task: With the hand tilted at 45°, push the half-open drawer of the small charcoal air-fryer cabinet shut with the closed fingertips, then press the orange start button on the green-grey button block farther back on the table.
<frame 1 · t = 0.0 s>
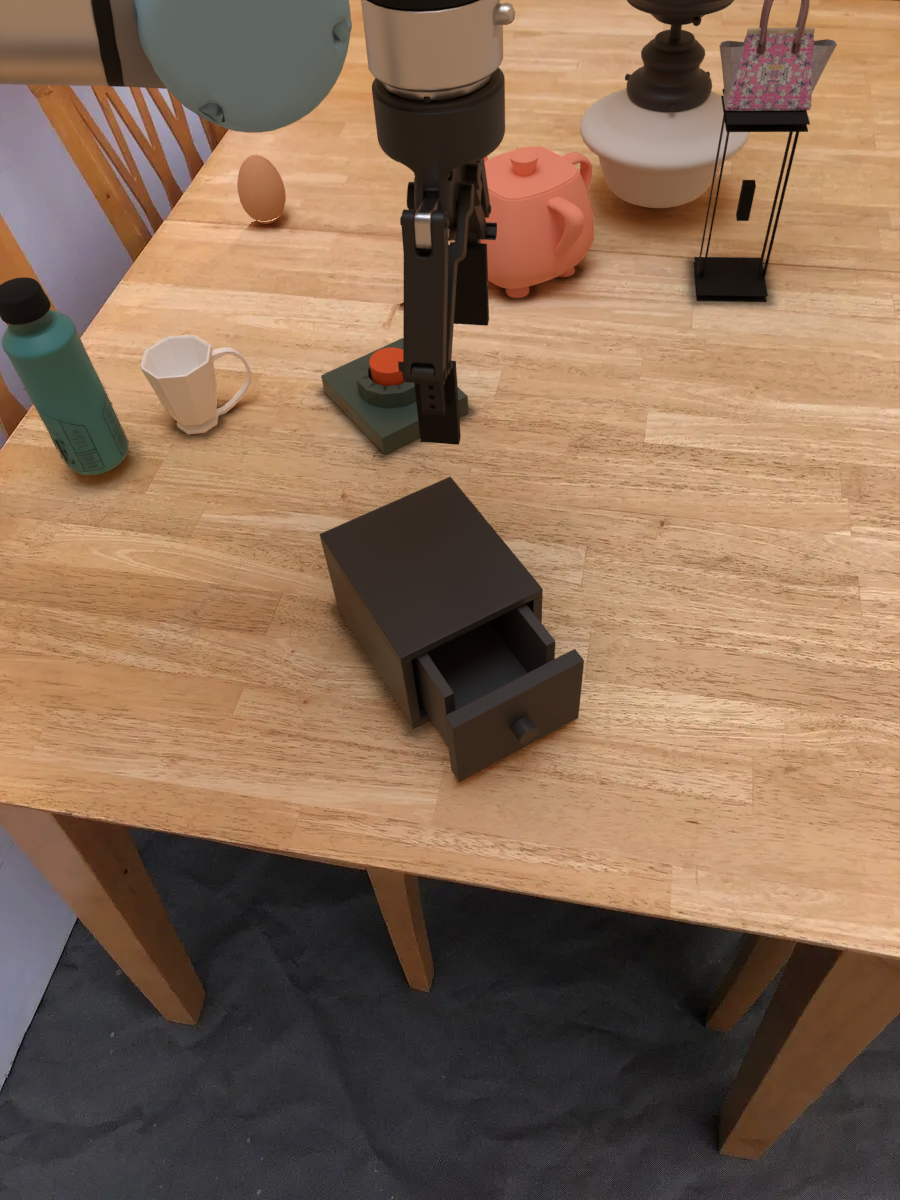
hand: (456, 377, 68), 18 cm above the table, tool pointing down, fingers open, 13 cm apart
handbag: (729, 283, 104), on the table
cabinet: (436, 635, 76), on the table
egg: (268, 222, 118), on the table
cup: (213, 417, 95), on the table
teapot: (513, 267, 109), on the table
beverage bottle: (103, 466, 91), on the table
light fixture: (654, 204, 115), on the table
button block: (395, 402, 95), on the table
start button: (390, 367, 91), point 4 cm above the table, slide at 0.1 cm
drawer: (479, 666, 68), point 5 cm above the table, slide at 5.0 cm
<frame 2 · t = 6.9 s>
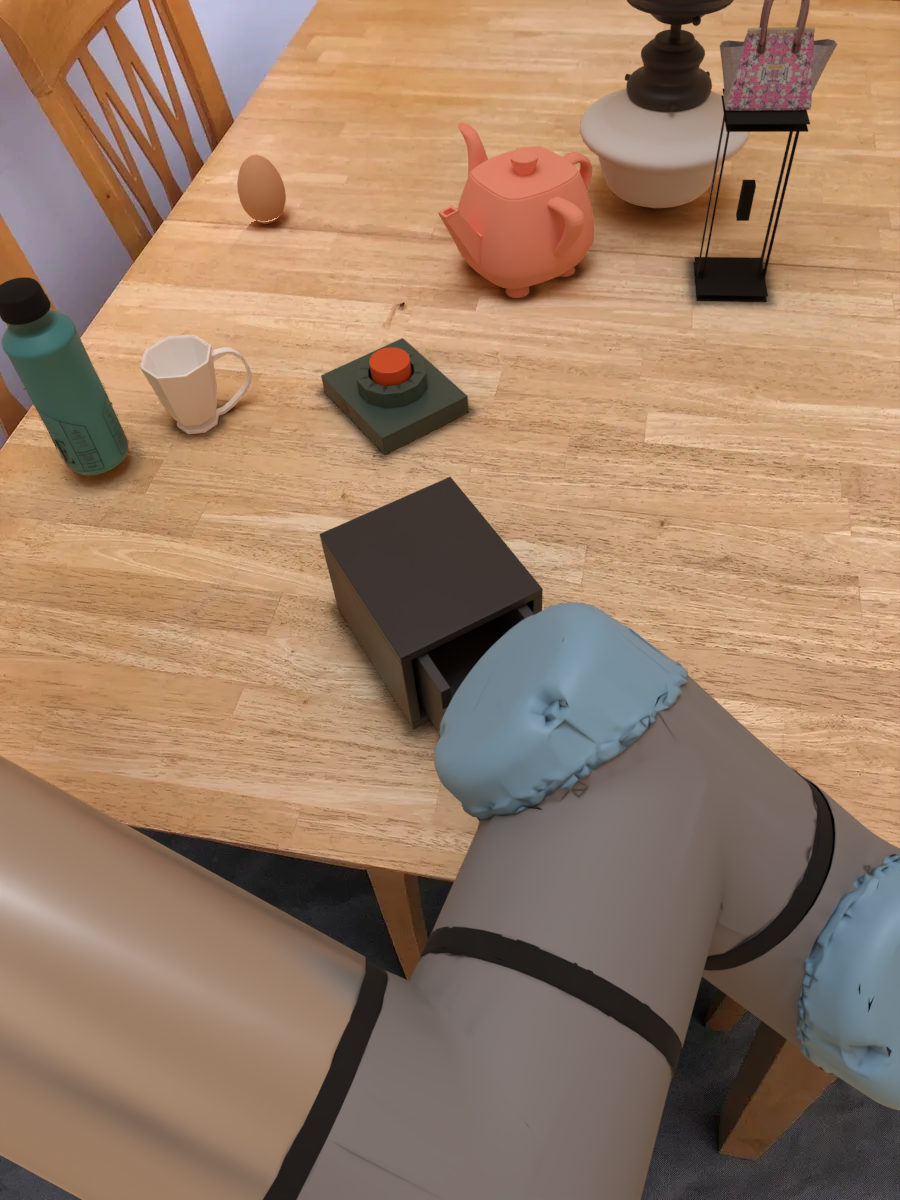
hand: (495, 750, 64), 4 cm above the table, tool tilted 45°, fingers closed
drawer: (476, 661, 68), point 5 cm above the table, slide at 4.5 cm, touching gripper
everything else where it was.
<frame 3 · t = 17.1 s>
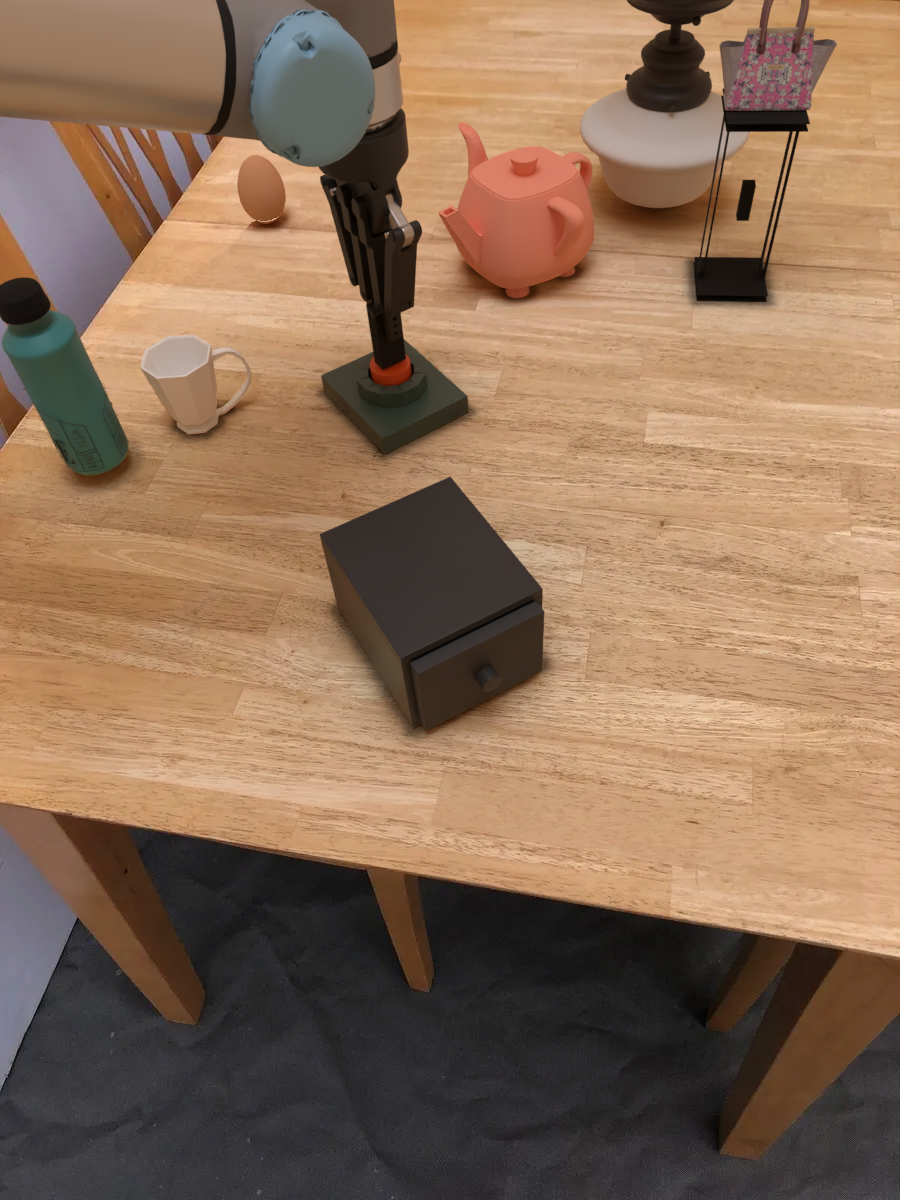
hand: (390, 360, 90), 5 cm above the table, tool pointing down, fingers closed
start button: (390, 369, 91), point 4 cm above the table, slide at -0.3 cm, touching gripper
drawer: (446, 620, 71), point 5 cm above the table, slide at 0.0 cm, touching cabinet
everything else where it was.
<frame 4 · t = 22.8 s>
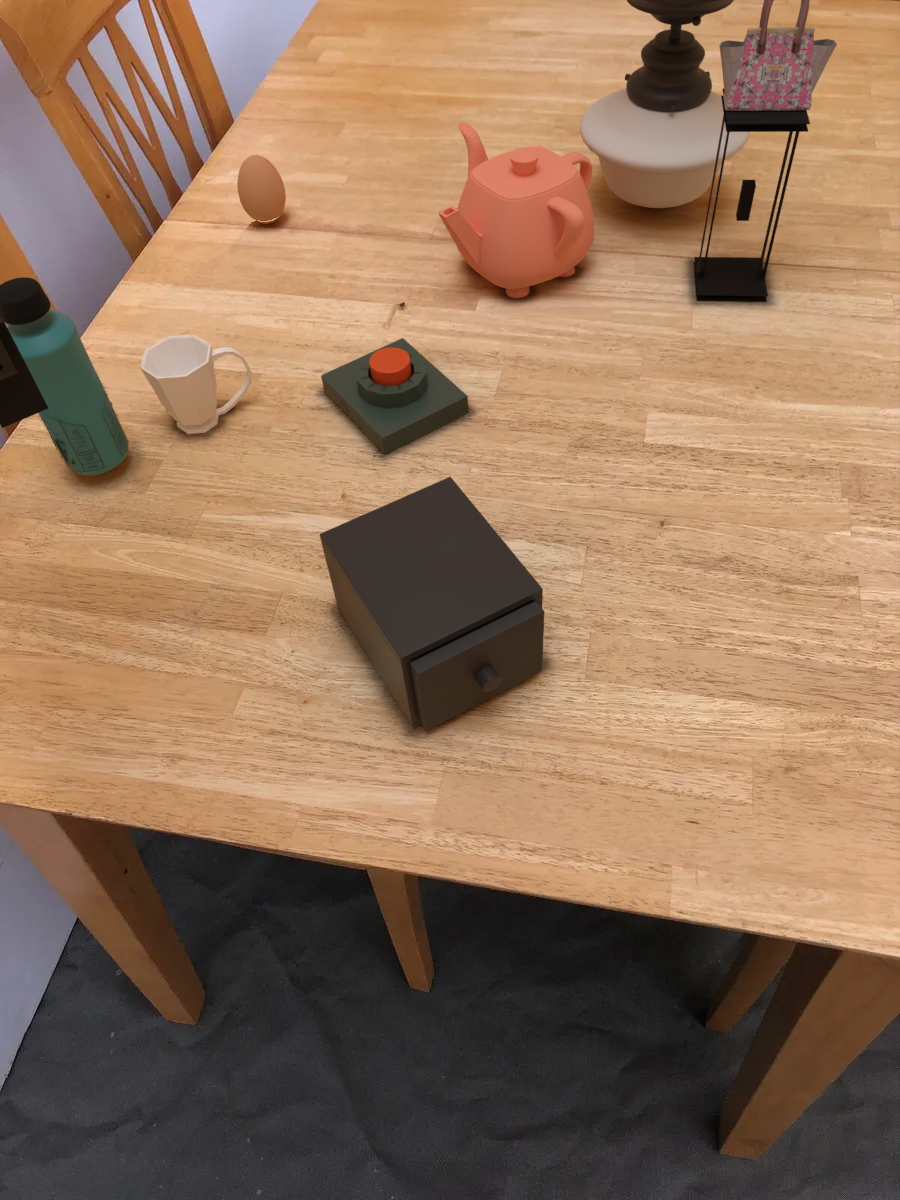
hand: (21, 410, 52), 28 cm above the table, tool pointing down, fingers closed
start button: (390, 367, 91), point 4 cm above the table, slide at 0.1 cm
everything else where it was.
at the end: drawer slide at 0.0 cm; start button pushed in 0.8 cm at the most during the clip, back to where it started at the end; start button slide at 0.1 cm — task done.
